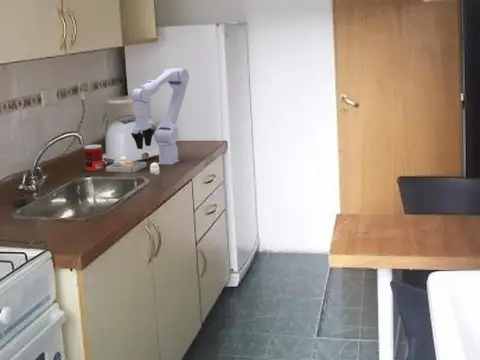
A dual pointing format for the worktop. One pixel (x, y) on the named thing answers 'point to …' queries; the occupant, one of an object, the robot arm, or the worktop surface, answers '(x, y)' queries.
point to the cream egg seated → (122, 160)
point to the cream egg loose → (154, 168)
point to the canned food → (93, 157)
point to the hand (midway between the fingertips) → (144, 147)
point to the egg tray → (121, 168)
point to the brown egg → (129, 164)
